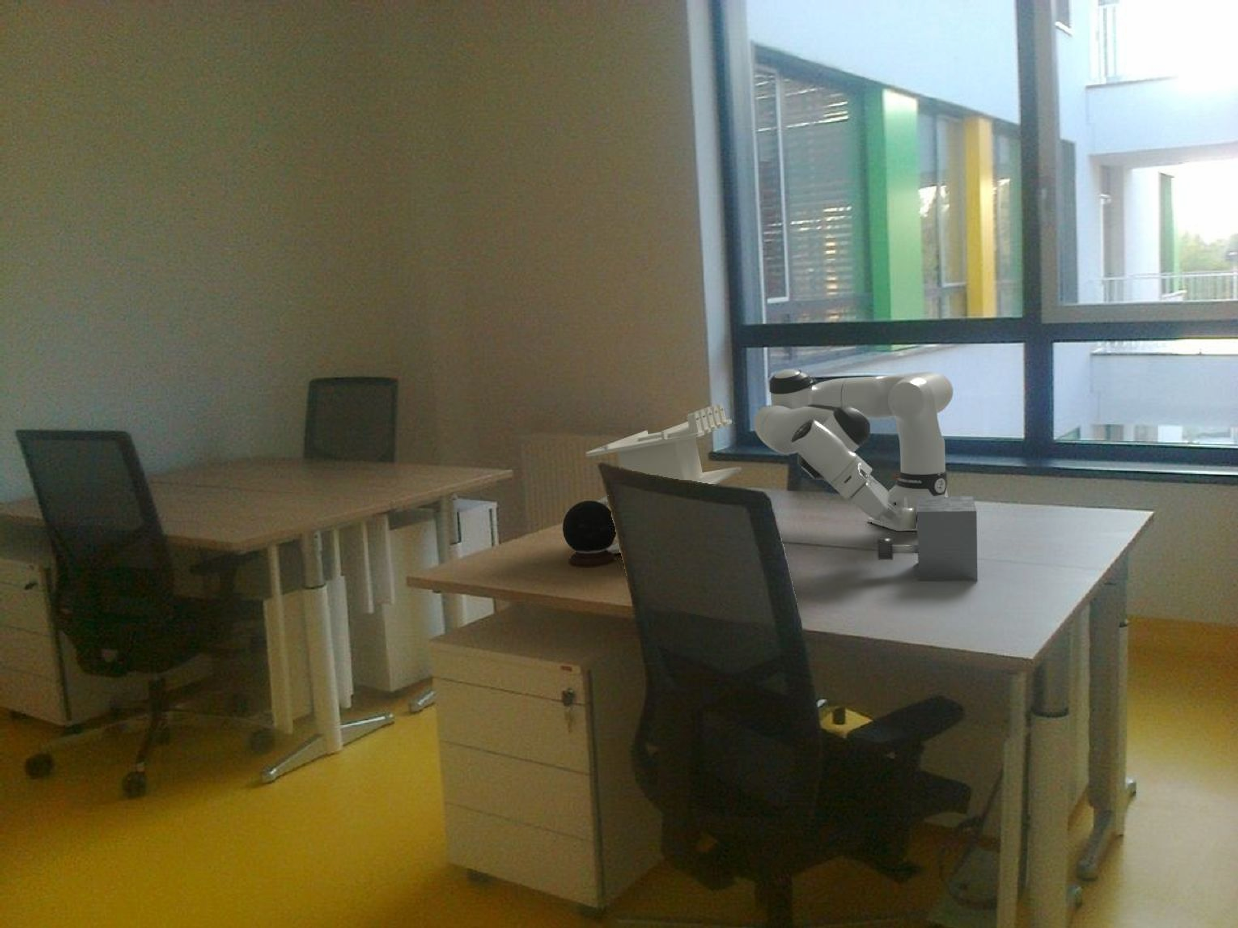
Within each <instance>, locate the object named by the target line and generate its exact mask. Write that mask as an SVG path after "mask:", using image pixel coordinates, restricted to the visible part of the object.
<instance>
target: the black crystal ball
mask: <svg viewBox="0 0 1238 928" xmlns="http://www.w3.org/2000/svg"><path fill="white" fill-rule="evenodd" d="M597 501H598V500H584V501H580V502H578V503H576V504H575V505H573V506H572V507H571V508H570V509H569V510H568V511H567V512H566V514H565V516H564V518H563V521H562V534H563V538H564V540H565V542H566V543H567V545H568V546H569V547H570V548H571V549H572V550H573V551H575V552H574V553H573V554H572V555H570V558H569V559H568V564H569V565H570V566H571V567H575V568H596V567H597V568H598V567H599V568H600V567H604V566H608V565H610V564H613V563H615V561H616V557H615V555H614V554H612V553H611V552H609V551H608V550H607V548H609V547H611V546H612V544H613V543H614V541H615V538H616V537H617V533H616V532H615V526H614V523H613V520H612V517H611V511H612V510H611V509H610V508H609V507H608V506H607V505H604V504H602V503H599V502H597ZM610 510H611V511H610Z"/></svg>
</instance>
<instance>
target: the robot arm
mask: <svg viewBox="0 0 1238 928" xmlns="http://www.w3.org/2000/svg"><path fill="white" fill-rule="evenodd" d="M769 393H770V400H771V402H770V403H771V404H769V405H765V406H762V408H760V409H759V410H758V411H757V412H756V414H755V416H754V418H753V428H754V431H755V433H756V435H757V437H758V438H759V439H760V440H761V441H762V442H763V444H764V445H766V446H767V447H768V448H769V449H771V450H773V451H775V452H777V453H779V454H782V455H792V454H796V453H797V455H796V456H797V457H796V458H797V466H799V467H800V468H802V469H803V470H804V471H805V472H806V473H807V474H809V476H810V477H811V478H812V480H813V481H821V480H822V481H823V480H826V481H827V483H829V484H830V485H831V486H832V487H833V489H834V490H836V491H837V492H838V493H839V495H840V496H841V497H842V498H843V499H844V500H846V501H849V500H850V501H851V502H852V503H853V505H855V506H856V507H857V508H859V509H860V510H861V511H862V512H864V513H865V514H866V515H867V516H869V517H868V518H867V519H868V520H867V522H868V523H871V522H872V524H874V525H876V526H880V527H883V526H884V528H887V529H890V530H893V531H896V532H897V531H898V532H907V531H908V532H909V531H916V532H917V523H916V529H902V508H916V514H917V497H949V496H948V491H947V486H948V478H949V477H948V471H947V470H946V443H945V442H946V441H945V438H944V436H943V435H942V433H941V428H940V424H939V419H938V414H939V413H940V412H942V411H944V410H945V409H946V408H947V406H948V405H949V404H950V402H951V401H952V399H953V397H954V396H953V395H954V388H953V385H952V382H951V381H950V380H949V379H948V378H947V377H946V376H945V375H943V374H941V373H939V372H934V371H933V372H932V371H926V372H925V371H924V372H923V371H922V372H914V373H913V372H911V373H900V374H889V375H887V374H886V375H878V376H877V375H876V376H875V375H874V376H859V377H843V378H842V377H841V378H835V379H829V380H825V381H820V382H818V381H817V379H816V378H815V377H812V376H810V375H809V374H808V373H807V372H806V371H805V372H804V371H803V370H801V369H792V368H789V369H784V370H781V371H779V372H777V373H775V374H774V375H772V376H771V378H770V380H769ZM889 418H890V419H891V418H894V421H895V426H896V430H897V434H898V441H899V453H900V454H899V455H900V456H899V457H900V460H899V461H900V471H899V472H896V473H892V474H893V476H892V478H893V479H896V482H895V485H894V486H893V487H892V488H890V489H889V490H888V489H886V488H885V487H884V486H883V485H882V484H881V483H880V482H879V481H877V480H876V479H875V478H874V477H873V476H872V475H871V473H872V472H873V468H872V467H871V466H870V465H869V464H867V462H865V460H863V458H862V457H860V456H859V455H858V454H857V453H855V451H857V450H858V449H859V448H860V447H862V445H863V444H864V443H866V442H867V441H868V440H869V439H870V437H871V436H870V435H871V424H870V421H869V420H880V419H881V420H882V419H889Z"/></svg>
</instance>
